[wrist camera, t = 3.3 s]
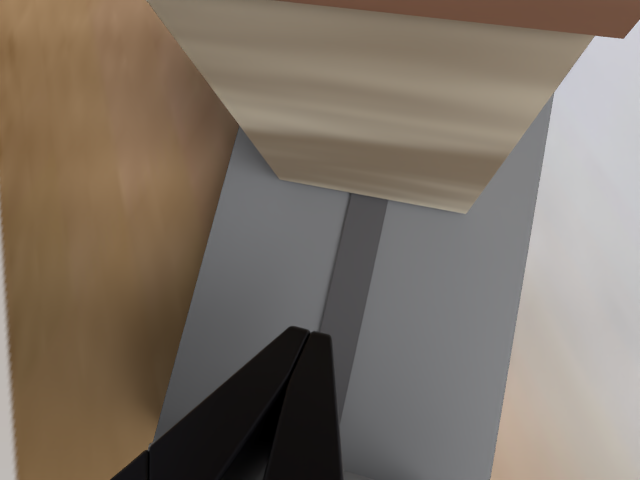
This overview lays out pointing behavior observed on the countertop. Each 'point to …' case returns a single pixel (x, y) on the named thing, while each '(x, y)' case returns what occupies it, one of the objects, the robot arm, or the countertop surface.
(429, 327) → the grooved grey tray
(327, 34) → the wooden rectangular block
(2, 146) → the countertop surface
